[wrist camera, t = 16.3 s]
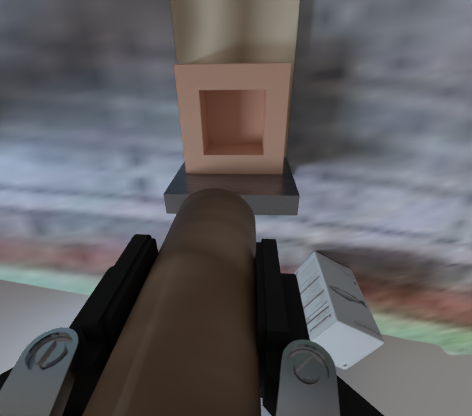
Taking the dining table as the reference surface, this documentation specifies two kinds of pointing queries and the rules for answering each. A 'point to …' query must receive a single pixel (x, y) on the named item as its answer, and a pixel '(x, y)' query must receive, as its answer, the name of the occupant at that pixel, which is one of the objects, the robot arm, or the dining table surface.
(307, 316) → the supplement box
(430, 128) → the dining table surface
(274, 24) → the board
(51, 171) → the dining table surface
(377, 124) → the dining table surface
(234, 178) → the wall
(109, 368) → the dowel
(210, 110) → the carriage
